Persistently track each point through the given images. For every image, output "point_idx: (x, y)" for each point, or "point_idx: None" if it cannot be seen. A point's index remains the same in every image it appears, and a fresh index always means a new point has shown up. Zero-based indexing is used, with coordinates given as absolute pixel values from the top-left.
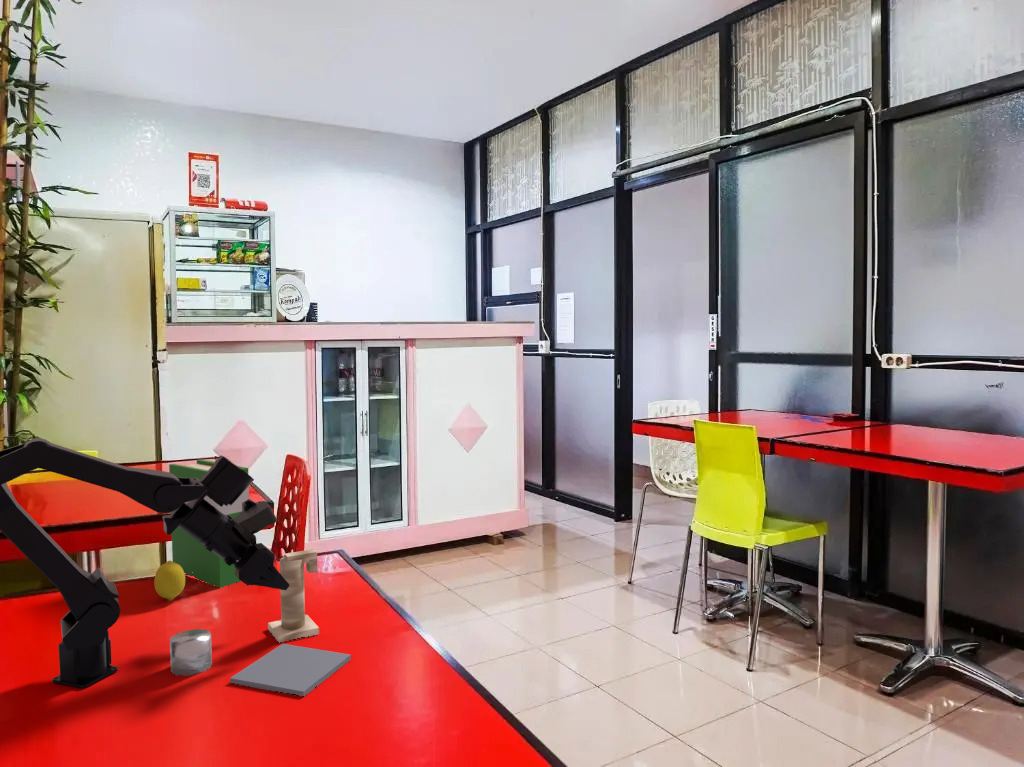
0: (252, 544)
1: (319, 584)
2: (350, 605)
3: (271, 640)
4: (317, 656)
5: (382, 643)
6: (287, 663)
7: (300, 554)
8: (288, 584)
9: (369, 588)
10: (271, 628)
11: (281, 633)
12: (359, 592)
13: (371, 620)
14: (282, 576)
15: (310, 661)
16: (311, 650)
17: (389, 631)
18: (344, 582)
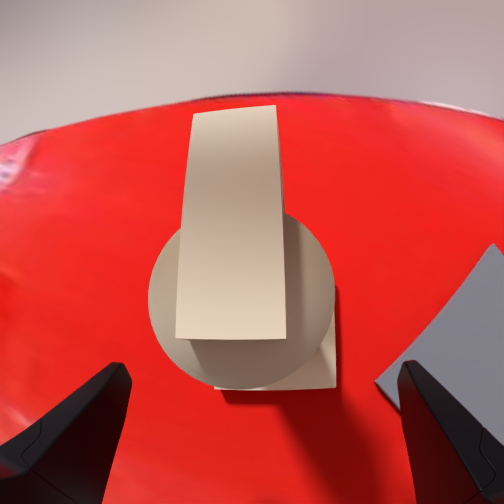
0: (4, 502)
1: (43, 198)
2: (184, 160)
3: (303, 398)
4: (481, 313)
5: (435, 166)
6: (484, 383)
7: (275, 216)
8: (420, 366)
9: (124, 115)
10: (254, 389)
11: (319, 376)
12: (129, 133)
13: (302, 143)
14: (463, 406)
15: (496, 332)
16: (449, 320)
17: (381, 134)
18: (66, 152)
